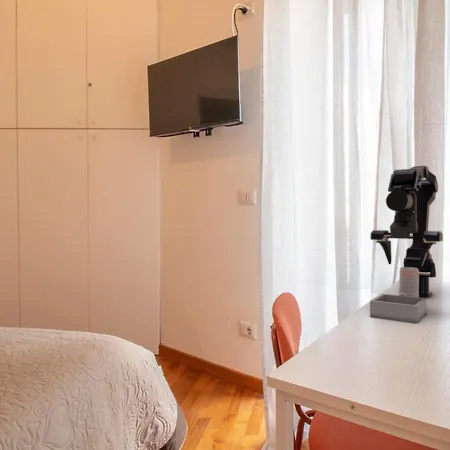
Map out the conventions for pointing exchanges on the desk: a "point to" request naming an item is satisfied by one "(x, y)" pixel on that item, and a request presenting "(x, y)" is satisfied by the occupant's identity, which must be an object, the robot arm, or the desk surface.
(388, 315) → the crate
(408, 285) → the energy drink
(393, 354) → the desk surface
